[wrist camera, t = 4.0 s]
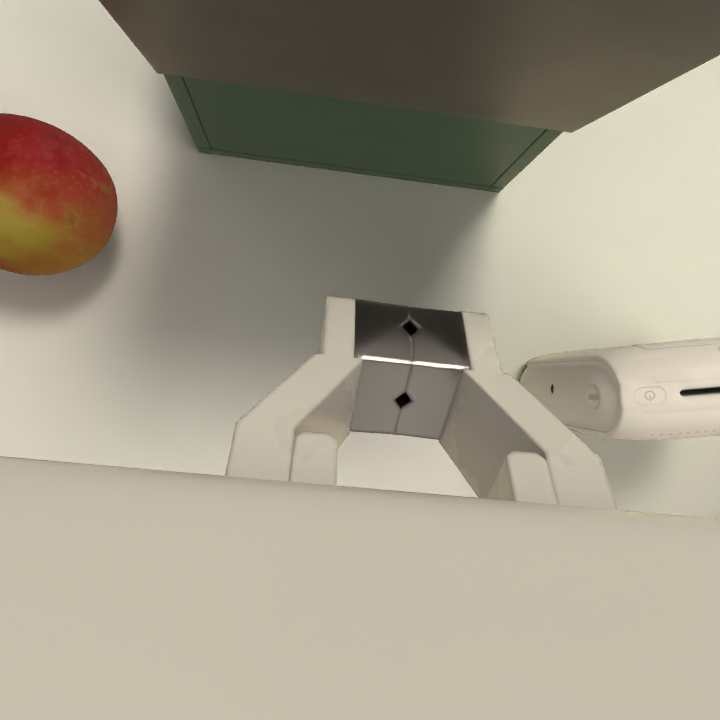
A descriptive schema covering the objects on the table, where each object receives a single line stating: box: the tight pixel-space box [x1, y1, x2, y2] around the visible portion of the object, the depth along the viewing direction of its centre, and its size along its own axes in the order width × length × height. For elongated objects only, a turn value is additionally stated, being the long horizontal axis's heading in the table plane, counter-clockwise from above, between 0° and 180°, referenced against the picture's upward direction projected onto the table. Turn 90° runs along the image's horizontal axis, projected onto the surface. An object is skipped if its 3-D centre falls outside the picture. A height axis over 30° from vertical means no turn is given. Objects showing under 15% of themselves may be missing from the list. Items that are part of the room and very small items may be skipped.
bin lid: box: [99, 0, 720, 132], centre depth 19 cm, size 15×18×1 cm
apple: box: [0, 113, 117, 275], centre depth 31 cm, size 8×8×8 cm
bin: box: [164, 74, 563, 192], centre depth 32 cm, size 15×18×10 cm
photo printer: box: [520, 338, 720, 440], centre depth 31 cm, size 10×4×12 cm, turn 94°
